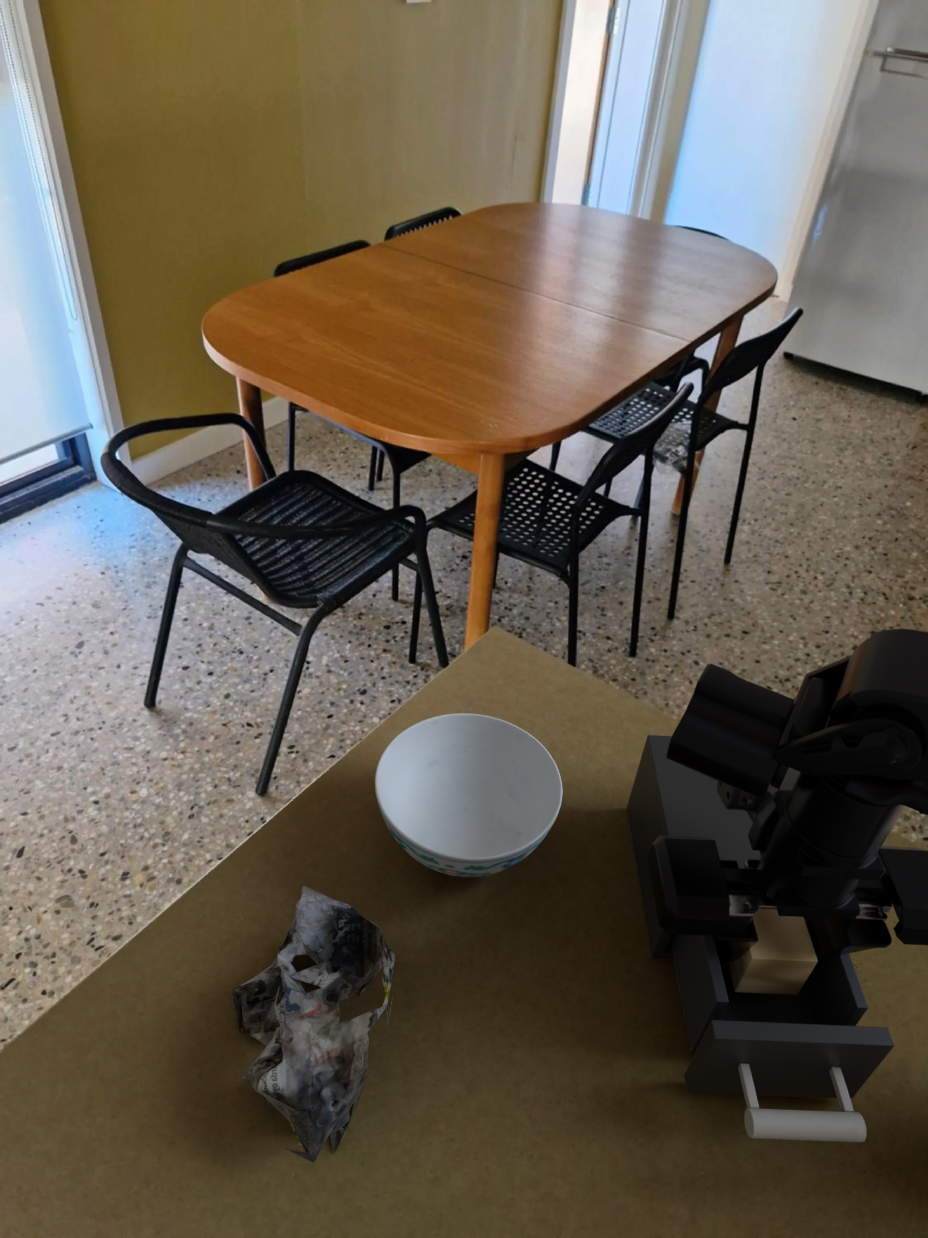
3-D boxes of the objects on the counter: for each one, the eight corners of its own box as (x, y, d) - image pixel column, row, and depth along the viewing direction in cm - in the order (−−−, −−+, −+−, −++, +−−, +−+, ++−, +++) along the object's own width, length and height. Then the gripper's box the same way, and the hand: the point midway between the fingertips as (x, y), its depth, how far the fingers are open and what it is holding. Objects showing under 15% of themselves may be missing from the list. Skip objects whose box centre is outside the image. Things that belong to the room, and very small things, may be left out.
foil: (455, 946, 64) (360, 1046, 50) (403, 1071, 66) (297, 1200, 52) (324, 869, 68) (201, 941, 54) (278, 989, 70) (148, 1089, 56)
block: (780, 936, 65) (799, 902, 63) (797, 995, 62) (818, 961, 59) (720, 934, 65) (736, 899, 62) (734, 992, 62) (751, 958, 59)
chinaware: (494, 952, 68) (504, 894, 63) (338, 858, 73) (336, 798, 69) (579, 821, 78) (593, 762, 73) (436, 748, 84) (440, 689, 79)
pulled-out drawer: (874, 1170, 57) (922, 1119, 52) (699, 1163, 57) (730, 1112, 52) (796, 921, 71) (828, 863, 66) (654, 915, 70) (676, 855, 65)
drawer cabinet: (812, 966, 69) (855, 895, 63) (651, 959, 68) (679, 887, 62) (764, 815, 80) (797, 742, 74) (626, 808, 80) (647, 734, 74)
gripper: (933, 728, 60) (853, 866, 69) (659, 713, 59) (617, 855, 69) (1011, 869, 51) (907, 1004, 61) (690, 853, 50) (638, 993, 60)
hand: (762, 956), depth 63 cm, fingers closed on block, 4 cm apart
